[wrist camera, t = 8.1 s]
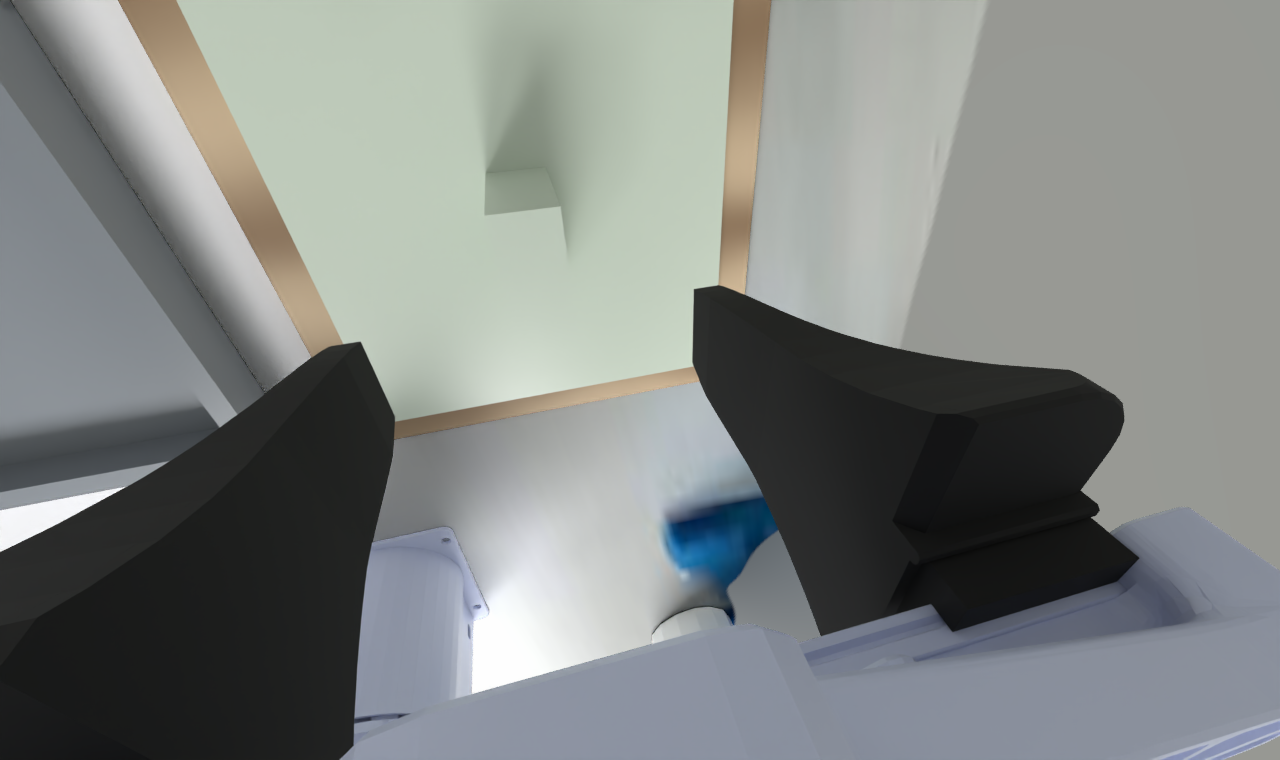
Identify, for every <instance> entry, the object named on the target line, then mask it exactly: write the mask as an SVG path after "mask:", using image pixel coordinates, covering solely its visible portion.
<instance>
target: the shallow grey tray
mask: <svg viewBox="0 0 1280 760" xmlns="http://www.w3.org/2000/svg"><path fill="white" fill-rule="evenodd" d="M264 394H265V393H264V392H263V390H262V389H261V387H260V386H259V384H258V383H257V381H256V380H255V378H254V376H253V375H252V373H251V372H250V370H249V369H248V367H247V366H246V364H245V363H244V361H243V359H242V358H241V356H240V355H239V353H238V352H237V350H236V349H235V347H234V346H233V344H232V342H231V341H230V339H229V338H228V336H227V335H226V333H225V332H224V330H223V329H222V327H221V325H220V324H219V322H218V321H217V319H216V318H215V316H214V315H213V313H212V312H211V310H210V309H209V307H208V305H207V304H206V302H205V301H204V299H203V298H202V296H201V295H200V293H199V292H198V290H197V288H196V287H195V285H194V284H193V282H192V281H191V279H190V278H189V276H188V275H187V273H186V271H185V270H184V268H183V267H182V265H181V264H180V262H179V261H178V259H177V258H176V256H175V254H174V253H173V251H172V250H171V248H170V247H169V245H168V244H167V242H166V241H165V239H164V237H163V236H162V234H161V233H160V231H159V230H158V228H157V227H156V225H155V224H154V222H153V220H152V219H151V217H150V216H149V214H148V213H147V211H146V210H145V208H144V207H143V205H142V203H141V202H140V200H139V199H138V197H137V196H136V194H135V193H134V191H133V190H132V188H131V186H130V185H129V183H128V182H127V180H126V179H125V177H124V176H123V174H122V173H121V171H120V170H119V168H118V166H117V165H116V163H115V162H114V160H113V159H112V157H111V156H110V154H109V153H108V151H107V149H106V148H105V146H104V145H103V143H102V142H101V140H100V139H99V137H98V136H97V134H96V132H95V131H94V129H93V128H92V126H91V125H90V123H89V122H88V120H87V119H86V117H85V115H84V114H83V112H82V111H81V109H80V108H79V106H78V105H77V103H76V102H75V100H74V98H73V97H72V95H71V94H70V92H69V91H68V89H67V88H66V86H65V85H64V83H63V81H62V80H61V78H60V77H59V75H58V74H57V72H56V71H55V69H54V68H53V66H52V64H51V63H50V61H49V60H48V58H47V57H46V55H45V54H44V52H43V51H42V49H41V48H40V46H39V44H38V43H37V41H36V40H35V38H34V37H33V35H32V34H31V32H30V31H29V29H28V27H27V26H26V24H25V23H24V21H23V20H22V18H21V17H20V15H19V14H18V12H17V10H16V9H15V7H14V6H13V4H12V3H11V1H10V0H0V510H4V509H9V508H15V507H20V506H25V505H31V504H36V503H41V502H46V501H52V500H57V499H62V498H67V497H73V496H78V495H83V494H89V493H94V492H99V491H104V490H110V489H115V488H120V487H126V486H129V485H131V484H133V483H134V482H136V481H138V480H140V479H141V478H143V477H145V476H146V475H148V474H150V473H151V472H153V471H154V470H156V469H158V468H159V467H161V466H163V465H164V464H166V463H167V462H169V461H171V460H172V459H174V458H176V457H177V456H179V455H180V454H182V453H183V452H185V451H186V450H188V449H189V448H191V447H193V446H194V445H196V444H197V443H198V442H200V441H201V440H203V439H204V438H206V437H207V436H209V435H210V434H211V433H213V432H214V431H216V430H217V429H218V428H220V427H221V426H222V425H224V424H225V423H227V422H228V421H229V420H231V419H232V418H233V417H235V416H236V415H238V414H239V413H240V412H242V411H243V410H244V409H246V408H247V407H249V406H250V405H251V404H253V403H254V402H255V401H257V400H258V399H259V398H260V397H262V396H263V395H264Z"/></svg>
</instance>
